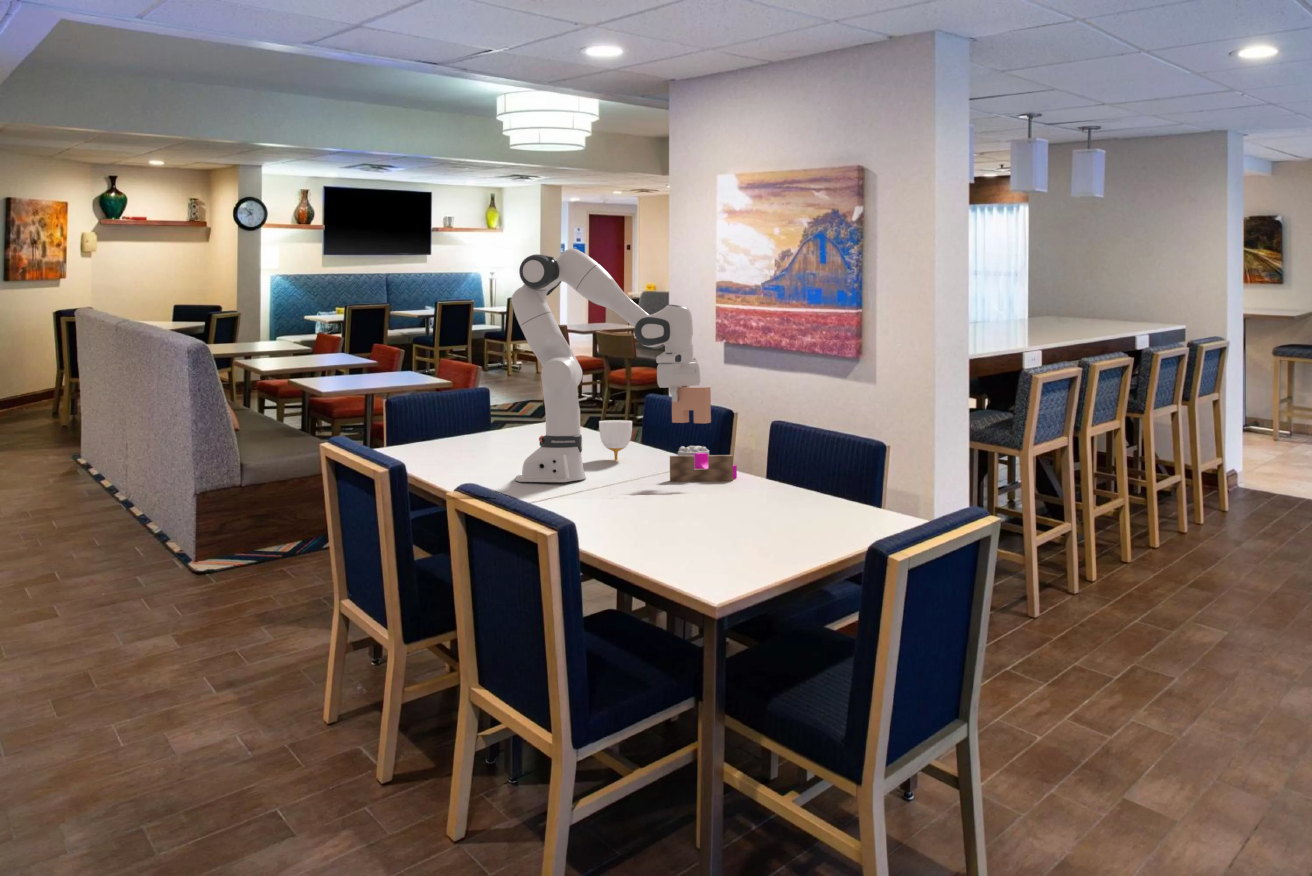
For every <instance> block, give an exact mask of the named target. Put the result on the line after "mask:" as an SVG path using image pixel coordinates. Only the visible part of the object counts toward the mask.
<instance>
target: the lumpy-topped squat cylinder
mask: <svg viewBox="0 0 1312 876" xmlns="http://www.w3.org/2000/svg"><path fill="white" fill-rule="evenodd" d="M696 453H708V455H710V450H709V449H708V448H707V447H706V446H703V445H702V446H701V445H689V446H687V447H685V446H683V445H681V446H680V447H679V448H678V450H677V456H690V455H693V456H694V469H695V454H696Z"/></svg>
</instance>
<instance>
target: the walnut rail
mask: <svg viewBox="0 0 1312 876" xmlns="http://www.w3.org/2000/svg"><path fill="white" fill-rule="evenodd" d="M733 465H734V456H733V454H709V455H708V469H694V456H693V455H690V456H678V455H669V481H670V482H729V481H730V482H733V481H734V479H733Z"/></svg>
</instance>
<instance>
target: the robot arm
mask: <svg viewBox="0 0 1312 876" xmlns="http://www.w3.org/2000/svg"><path fill="white" fill-rule="evenodd" d="M518 272H519V277H520V279H521V281H522V283H523V285H522V286H521V287H519V288H517V289H516V290H515V291H514V292H513V294H512V296H511V299H510V300H511V304H512V308H513V312H514V314H515V318H516V320H517V322H518V325H519V327H520V329H521V331H522V333H523V335H524V338H525V340H526V342H527V343H528V346H529V348H530V350H531V351H532V352H533V354H534V355H535V357H536V359H537V360H538V362H539V363H540V364H541V367H542V369H541V372H540V376H541V385H542V393H543V400H544V401H543V403H544V408H545V409H544V411H545V435H541V436H539V438H538V442H539V446H540V447H538V448H537V449H536V450H535V451H534V452H532V453H531V454H530V455H529V456H528V457H527V458H526V459H524V461H523V464H522V469H521V474H522V475H520V474H518V475H516V476H515V478H514V479H516V480H515V481H516V482H520V483H521V482H522V483H568V482H574V481H581V480H586V479H587V475H586V473H585V469H584V464H583V457H582V451H583V437H582V434H581V408H580V402H579V394H578V386H579V385H580V384H581V382H582V379H583V368H582V366H581V365H580V363H579V361H578V359H577V358H576V357H577V356H575V353H574V352H573V350H572V348H571V347H570V345H569V343H568V342H567V340H566V337H564V335H563V332H562V331H561V329H560V326H559V324H558V322H557V320H556V318H555V316H554V313H553V311H552V310H551V308H550V306H549V303H548V300H547V296H550V294H552V292H553V291H554V290H555V289H556V288H558V287H559V286H560V284H561V283H562V282H564V283H566V284H567V285H568V286H570V287H571V288H573V290H575V291H576V292H577V294H579V295H580V296H582V297H583V298H585V299H586V300H588V301H590V302H591V303H593V304H594V305H595V304H596V305H597V306H601V307H603V308H607V309H609V310H611V311H613V312H614V313H615V314H617V315H618V316H620V317H621V318H622V319H623V320H625V322H627V323H628V324H629V325H630V326H631V327H633V328H634V330H633V331H634V333H633V334H634V337H635V340H636V341H637V342H638V343H639V344H641V345H642V346H644V347H648V348H650V349H661V348H663V347H664V351H663V352H662V353H660V354H659V355H657V356H656V357H655V358H656V359H655V361H656V364H658V365H657V367H656V382H657V385H658V387H659V388H660V389H661V388H664V389H665V388H669V393H670V394H671V395H670V396H671V402H672V401H673V402H678V401H679V396H678V394H677V391H678V387H698V386H700V383H701V372H700V365H699V363H698V360H697V358H696V357H694V344H693V335H694V326H693V324H694V323H693V315H692V312H691V310H690V309H689V308H687V307H686V306H683V305H679V304H678V305H677V304H668V305H666V306H665V307H664V308H662V309H660V310H659V311H656V312H655V313H652V314H651V313H650V314H649V313H648V312H647V311H645V310H644V309H643V308H642V307H640V305H638V304H637V303H636V302H635V301H633V299H631V298H630V297H629V296H628V295H627V294H626V293H625V292H624V290H623V289H622V288H621V287H620V286H619V284H618V283H617V282H616V281H615V279H614V278H613V277H612V275H611V274H610V273H609V272H608V271H607V270H606V269H605V268H604V267H603V266H602V265H601V264H600V263H598V261H596V260H594V259H593V258H592V257H590V256H589V255H588V254H586V253H585V252H583V251H580V250H579V249H578V248H572V247H571V248H568V249H566V250H565V251H563V252H562V253H560V255H559V256H558V257H557V258H556V257H553V256H550V255H547V254H531V255H528V256H527V257H526V258H524V259H523V260H522V262H521V264H520V265H519V271H518Z"/></svg>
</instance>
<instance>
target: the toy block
mask: <svg viewBox="0 0 1312 876" xmlns="http://www.w3.org/2000/svg"><path fill="white" fill-rule="evenodd" d="M737 467H738V465H735V464H733V480H736V479H735V478H737V477H738V474H737V473H738V469H737ZM695 469H708V453H696V454H695Z"/></svg>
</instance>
